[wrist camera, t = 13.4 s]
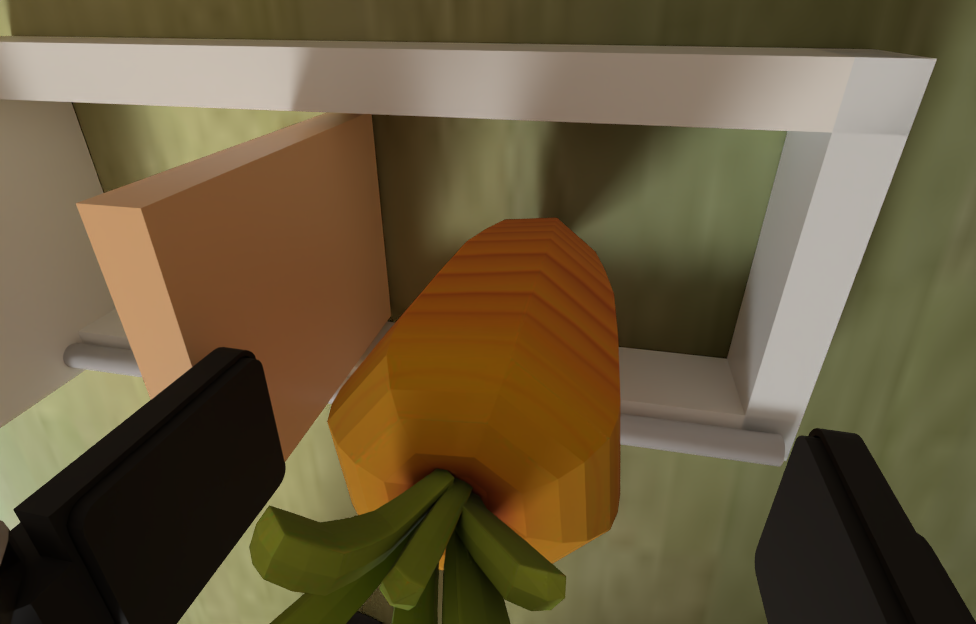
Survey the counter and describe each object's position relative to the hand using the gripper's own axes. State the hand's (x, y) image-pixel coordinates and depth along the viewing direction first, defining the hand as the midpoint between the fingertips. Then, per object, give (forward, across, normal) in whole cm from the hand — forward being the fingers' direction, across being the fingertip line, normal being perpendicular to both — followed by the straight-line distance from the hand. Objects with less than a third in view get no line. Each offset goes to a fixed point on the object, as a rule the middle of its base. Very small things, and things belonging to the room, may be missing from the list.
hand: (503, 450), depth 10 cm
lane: (+9, +6, -1) cm, 11 cm away
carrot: (+10, 0, -1) cm, 10 cm away
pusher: (+9, +8, -1) cm, 12 cm away
